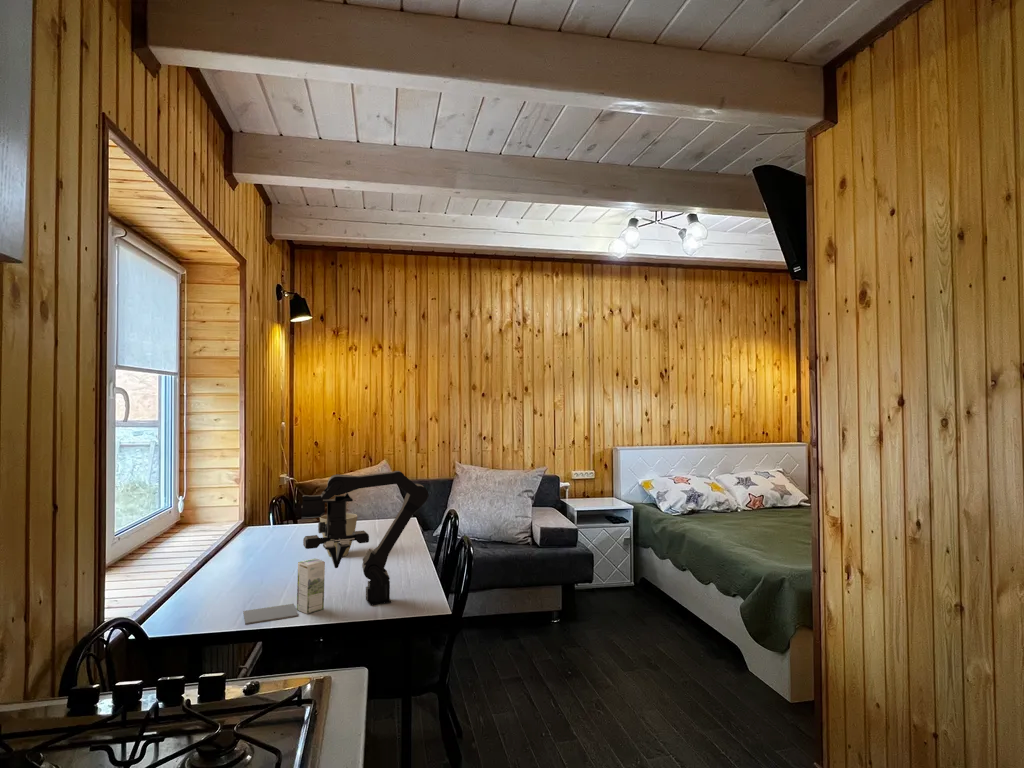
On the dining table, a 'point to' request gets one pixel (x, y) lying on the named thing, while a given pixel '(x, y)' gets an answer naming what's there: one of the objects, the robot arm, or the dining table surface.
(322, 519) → the plant pot
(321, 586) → the syrup box
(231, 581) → the dining table surface
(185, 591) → the dining table surface
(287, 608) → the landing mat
